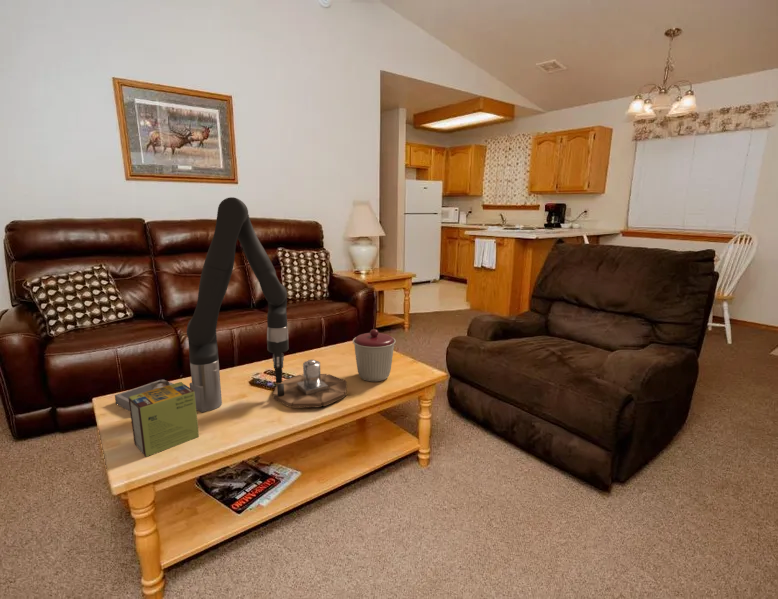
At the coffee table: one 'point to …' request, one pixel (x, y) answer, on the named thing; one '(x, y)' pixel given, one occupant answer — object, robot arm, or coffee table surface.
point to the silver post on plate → (312, 378)
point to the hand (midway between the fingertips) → (278, 382)
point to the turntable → (296, 398)
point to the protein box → (163, 418)
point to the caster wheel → (159, 385)
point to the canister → (374, 355)
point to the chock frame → (123, 397)
